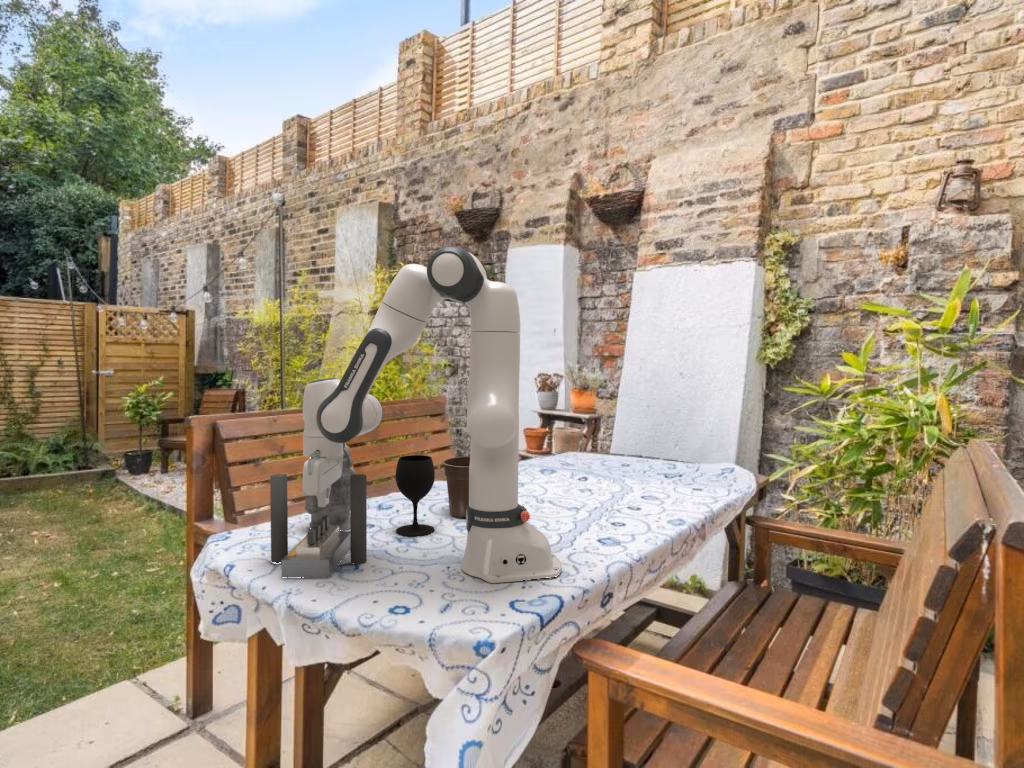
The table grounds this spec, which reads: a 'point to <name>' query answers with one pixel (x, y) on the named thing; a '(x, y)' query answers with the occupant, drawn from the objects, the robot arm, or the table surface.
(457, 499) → the plant pot
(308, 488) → the robot arm
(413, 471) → the wine glass
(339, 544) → the breaker panel
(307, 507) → the figurine
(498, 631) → the table surface
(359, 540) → the disc
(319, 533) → the breaker paddles
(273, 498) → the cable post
